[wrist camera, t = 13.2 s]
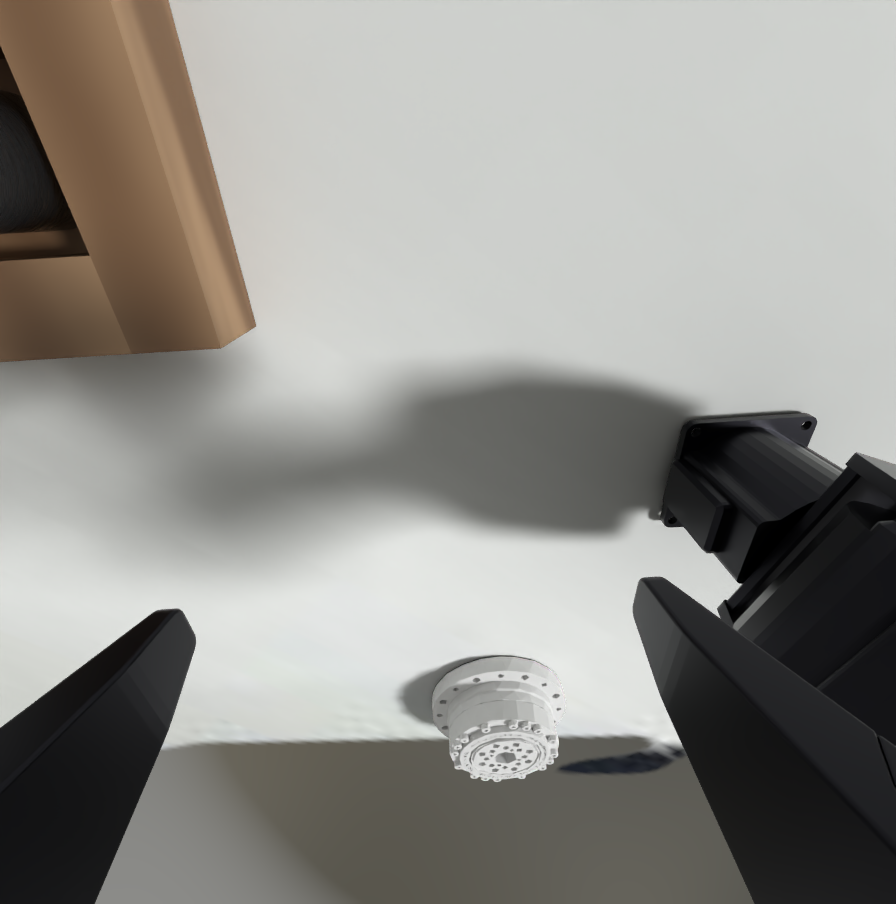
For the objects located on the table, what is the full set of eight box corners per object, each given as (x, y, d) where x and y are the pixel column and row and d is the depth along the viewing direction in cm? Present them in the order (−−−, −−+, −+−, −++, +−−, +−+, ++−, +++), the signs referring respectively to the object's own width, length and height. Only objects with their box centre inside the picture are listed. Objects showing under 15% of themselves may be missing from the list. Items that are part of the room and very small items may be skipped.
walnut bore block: (143, -92, 12) (48, -193, 9) (256, 326, 18) (220, 348, 15) (-271, -69, 12) (-504, -163, 9) (-23, 343, 18) (-116, 368, 15)
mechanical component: (585, 667, 31) (459, 640, 29) (606, 730, 27) (464, 704, 25) (526, 737, 36) (414, 717, 34) (538, 800, 32) (412, 782, 30)
